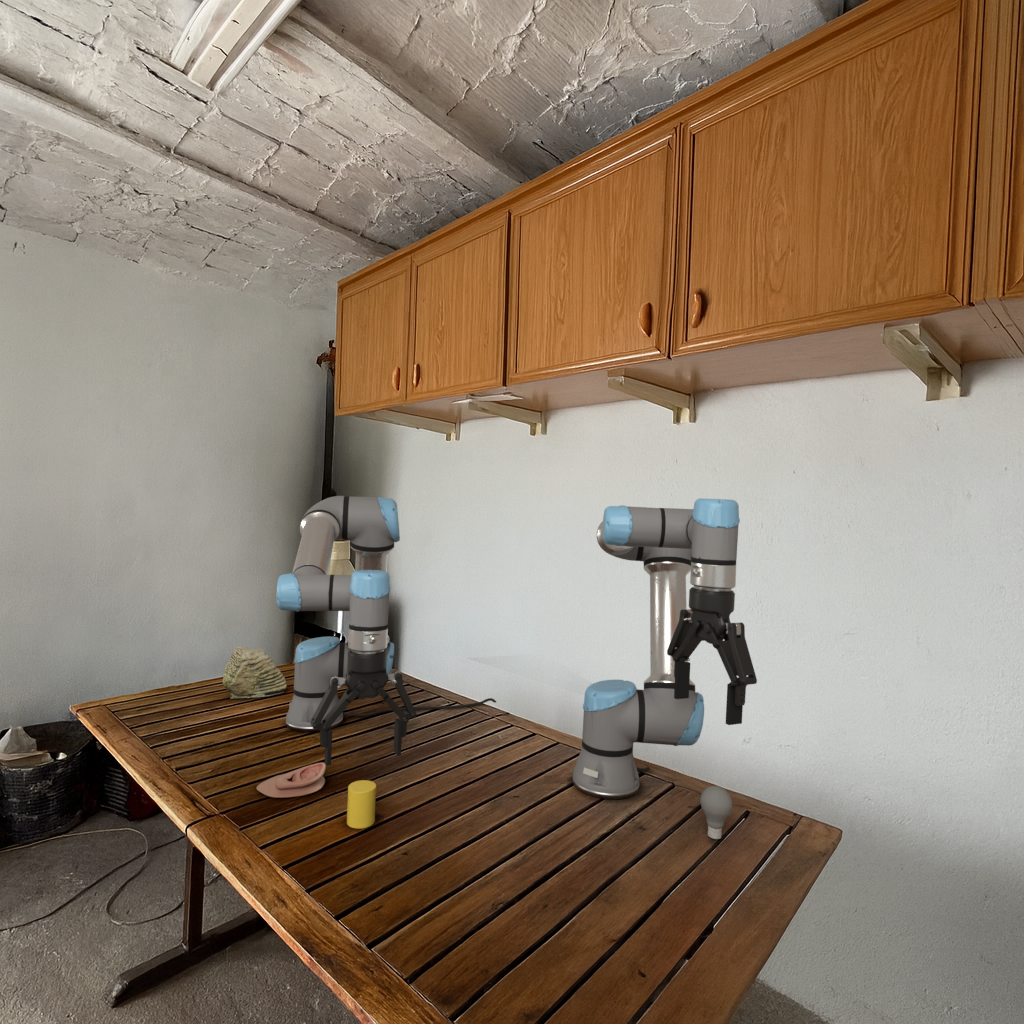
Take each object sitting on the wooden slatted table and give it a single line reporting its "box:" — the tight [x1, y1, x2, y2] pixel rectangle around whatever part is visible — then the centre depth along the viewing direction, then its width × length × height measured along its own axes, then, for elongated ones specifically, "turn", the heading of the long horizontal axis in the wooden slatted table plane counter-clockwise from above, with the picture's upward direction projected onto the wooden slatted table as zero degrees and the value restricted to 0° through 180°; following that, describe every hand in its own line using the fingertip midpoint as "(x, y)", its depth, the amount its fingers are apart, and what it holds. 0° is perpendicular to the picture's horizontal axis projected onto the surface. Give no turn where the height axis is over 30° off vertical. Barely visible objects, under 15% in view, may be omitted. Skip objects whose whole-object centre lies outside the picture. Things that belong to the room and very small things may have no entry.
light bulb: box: [699, 785, 734, 840], centre depth 124 cm, size 6×6×10 cm
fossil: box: [222, 646, 288, 699], centre depth 198 cm, size 9×18×15 cm, turn 132°
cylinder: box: [346, 779, 377, 830], centre depth 124 cm, size 5×5×7 cm
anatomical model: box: [256, 762, 327, 799], centre depth 137 cm, size 13×4×12 cm
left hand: (363, 758), depth 124 cm, fingers open, 13 cm apart
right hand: (706, 710), depth 110 cm, fingers open, 13 cm apart
